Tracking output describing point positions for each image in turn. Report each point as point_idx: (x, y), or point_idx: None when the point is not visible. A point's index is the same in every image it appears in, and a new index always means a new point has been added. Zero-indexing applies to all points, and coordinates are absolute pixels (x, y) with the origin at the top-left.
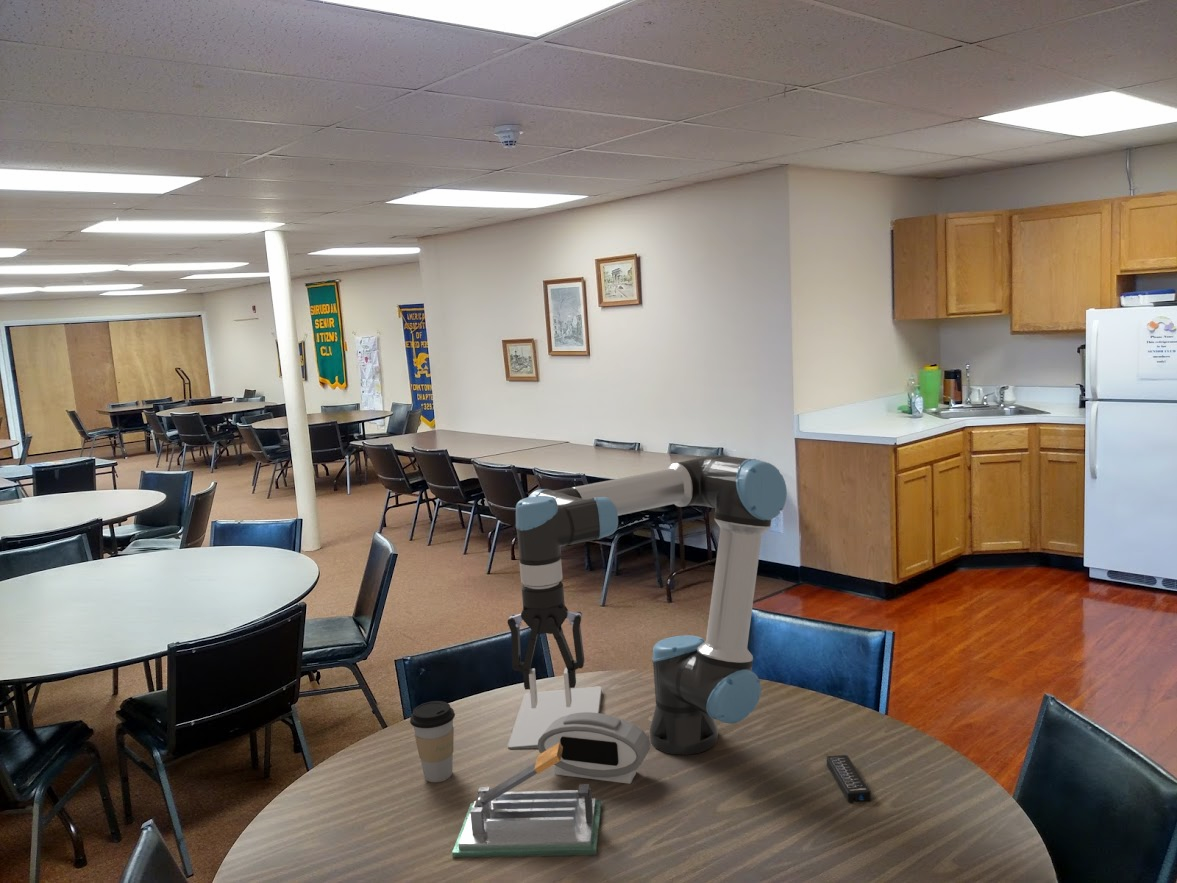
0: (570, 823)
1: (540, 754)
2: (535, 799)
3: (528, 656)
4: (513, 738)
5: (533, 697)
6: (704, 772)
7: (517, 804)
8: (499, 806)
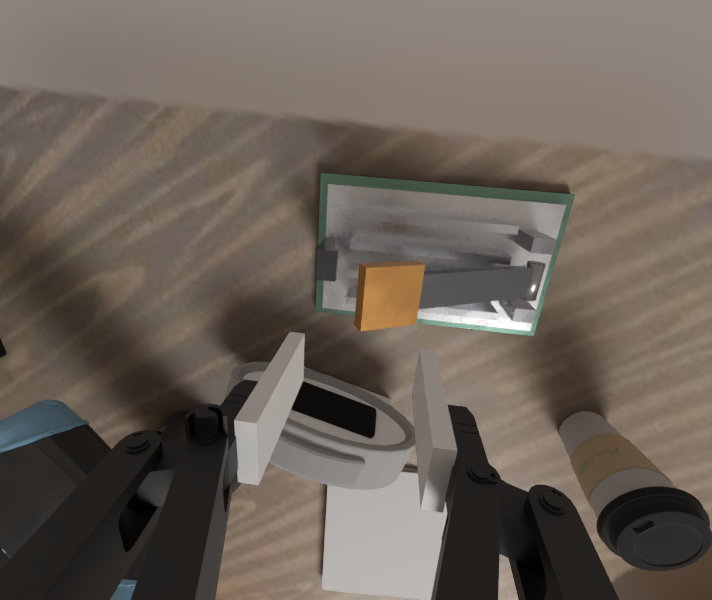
0: (358, 210)
1: (409, 321)
2: None
3: (472, 569)
4: None
5: (428, 370)
6: (169, 365)
7: None
8: None
